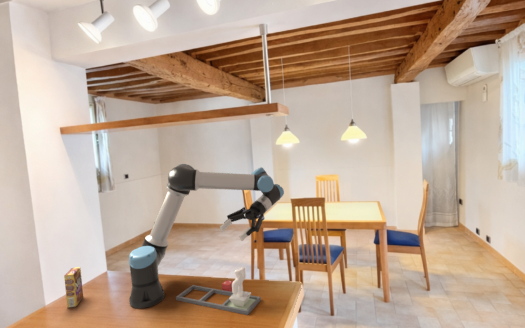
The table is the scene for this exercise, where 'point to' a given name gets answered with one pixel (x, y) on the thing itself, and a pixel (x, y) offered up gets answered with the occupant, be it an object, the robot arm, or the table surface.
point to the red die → (227, 285)
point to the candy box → (73, 287)
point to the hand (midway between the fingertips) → (230, 234)
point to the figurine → (239, 289)
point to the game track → (225, 306)
